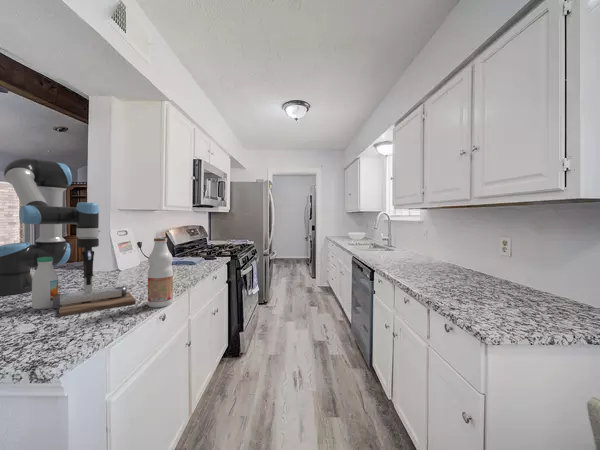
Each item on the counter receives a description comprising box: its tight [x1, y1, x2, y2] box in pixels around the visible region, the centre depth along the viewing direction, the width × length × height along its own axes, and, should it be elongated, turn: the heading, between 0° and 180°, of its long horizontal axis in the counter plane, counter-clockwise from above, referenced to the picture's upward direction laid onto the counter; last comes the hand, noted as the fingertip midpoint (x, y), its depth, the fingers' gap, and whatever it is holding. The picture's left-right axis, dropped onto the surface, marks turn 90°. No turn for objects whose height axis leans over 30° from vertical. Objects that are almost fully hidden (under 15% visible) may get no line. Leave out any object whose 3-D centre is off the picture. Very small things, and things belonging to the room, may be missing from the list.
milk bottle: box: [31, 257, 59, 310], centre depth 108 cm, size 8×8×20 cm
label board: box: [58, 292, 137, 318], centre depth 112 cm, size 16×24×2 cm, turn 130°
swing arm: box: [52, 286, 128, 308], centre depth 113 cm, size 24×7×3 cm, turn 130°
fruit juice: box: [147, 237, 174, 309], centre depth 113 cm, size 9×9×28 cm
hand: (88, 291), depth 118 cm, fingers closed
